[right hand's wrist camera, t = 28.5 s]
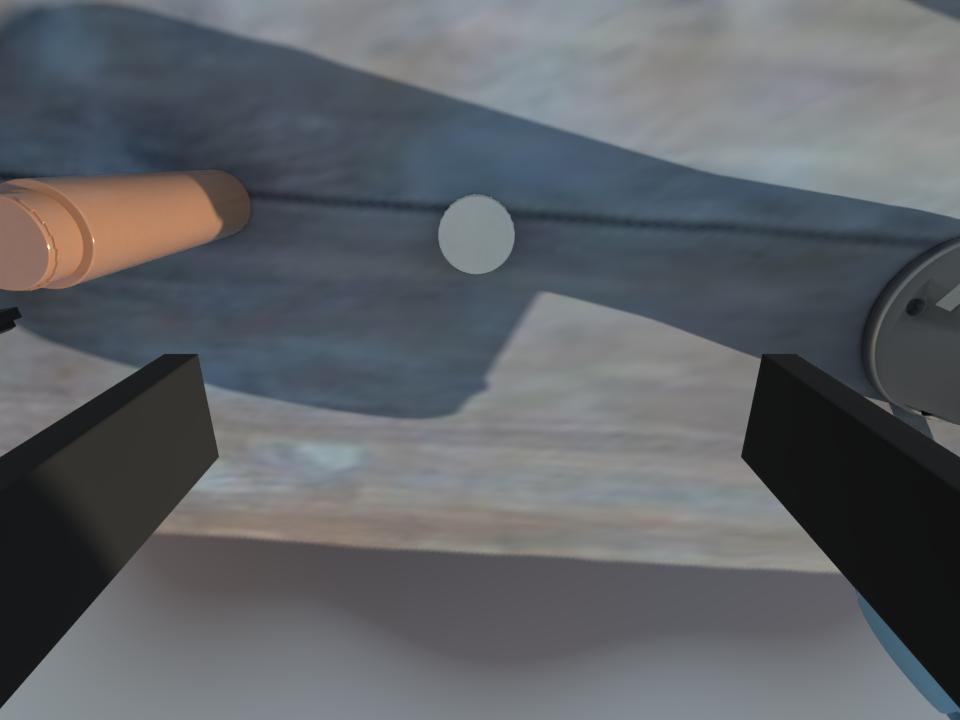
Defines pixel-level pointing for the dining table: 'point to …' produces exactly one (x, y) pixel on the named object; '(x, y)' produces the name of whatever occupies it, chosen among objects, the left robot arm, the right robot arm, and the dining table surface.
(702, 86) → the dining table surface
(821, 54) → the dining table surface
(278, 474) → the dining table surface
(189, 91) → the dining table surface
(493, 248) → the lid
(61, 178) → the brown tube
